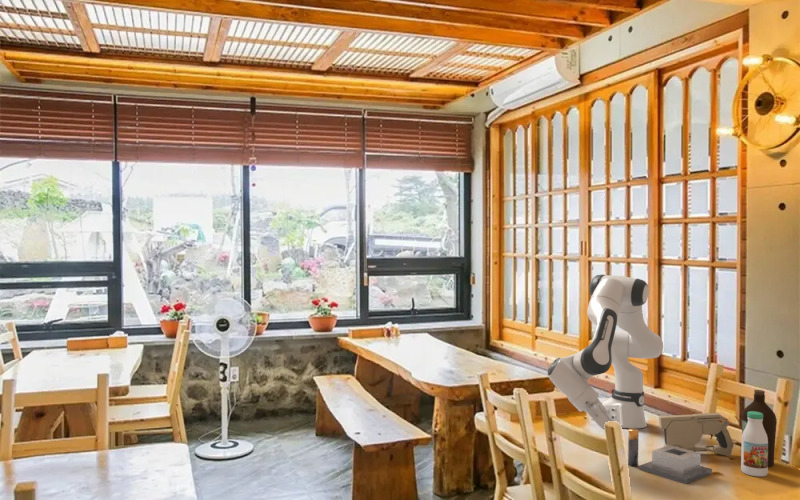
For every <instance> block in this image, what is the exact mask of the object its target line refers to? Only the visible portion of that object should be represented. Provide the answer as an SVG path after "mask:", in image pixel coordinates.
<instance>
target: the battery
mask: <svg viewBox="0 0 800 500" xmlns="http://www.w3.org/2000/svg"><path fill="white" fill-rule="evenodd" d="M639 433H640V432H639V429H638V428H628V441H627V442H628V443H627V444H628V446H627V448H628V449H627V465H628V466H629V467H634V468H636V467H639V436H640V435H639Z"/></svg>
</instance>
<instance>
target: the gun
mask: <svg viewBox="0 0 800 500" xmlns="http://www.w3.org/2000/svg"><path fill="white" fill-rule="evenodd" d="M720 421H722V422H720ZM658 424H659V428H660V429H661V430H663V431H664V432H663V433H664V434H663V437H664V444H663V447H665V446H668V445H672V446H675V447H679V448H683V449H687V450H690V451H694V452H698V453H701V452H709V453H710V452H711V453H714V454H716V455H717V454H718V455H723V456H728V457H731V454H732V451H733V448H734V443H733V442H734V441H733V440H732V437H731V435H730V432H729V430H728V429H727V427H728V426H730V424H731V422H730V421H728V420H727V419H726V418H725V417H724V416H723V415H722V414H720V413H719V412H708V413H707V412H706V413H704V412H703V413H693V414H675V415H674V414H673V415H659V416H658ZM706 435H708V436H709V435H710V439H712V438H713V435H714V436H715V437H716V439H715V440H716V441H717V443H718V444H713V445H706V446H697V444H698V443H699V441H701V439H702V438H703V436H706Z"/></svg>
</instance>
